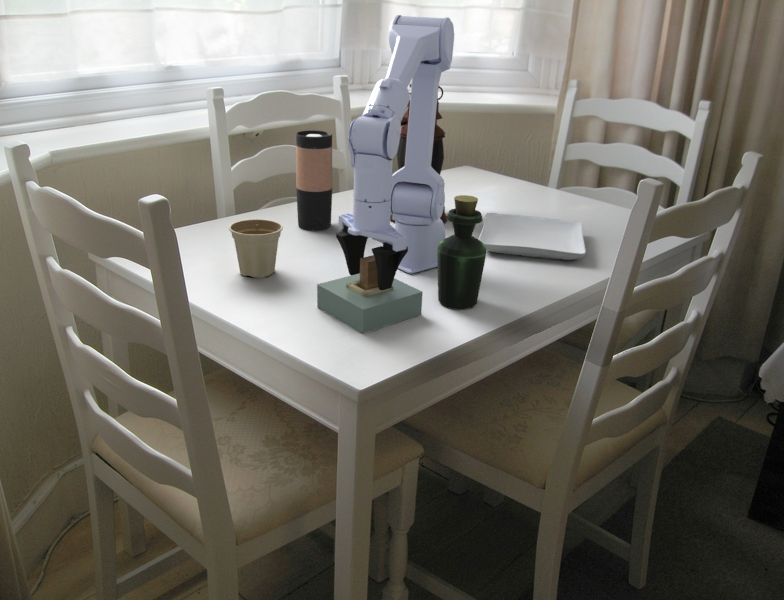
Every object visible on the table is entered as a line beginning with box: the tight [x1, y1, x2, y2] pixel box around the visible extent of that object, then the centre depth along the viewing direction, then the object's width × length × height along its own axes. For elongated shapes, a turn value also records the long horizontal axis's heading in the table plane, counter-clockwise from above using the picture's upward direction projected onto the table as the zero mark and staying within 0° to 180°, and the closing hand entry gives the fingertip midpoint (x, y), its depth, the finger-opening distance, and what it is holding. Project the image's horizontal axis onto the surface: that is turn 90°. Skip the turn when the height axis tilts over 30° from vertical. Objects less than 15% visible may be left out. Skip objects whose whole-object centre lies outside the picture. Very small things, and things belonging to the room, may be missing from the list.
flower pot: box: [228, 218, 284, 279], centre depth 127 cm, size 9×9×9 cm
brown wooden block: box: [360, 255, 378, 291], centre depth 113 cm, size 2×3×8 cm, turn 130°
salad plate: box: [477, 212, 587, 261], centre depth 149 cm, size 21×21×3 cm
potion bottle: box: [437, 194, 488, 311], centre depth 116 cm, size 8×8×18 cm
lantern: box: [390, 83, 448, 225], centre depth 157 cm, size 17×14×30 cm
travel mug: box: [295, 129, 333, 232], centre depth 151 cm, size 8×8×20 cm
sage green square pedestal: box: [316, 273, 424, 334], centre depth 114 cm, size 12×12×5 cm
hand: (369, 280), depth 113 cm, fingers open, 7 cm apart
